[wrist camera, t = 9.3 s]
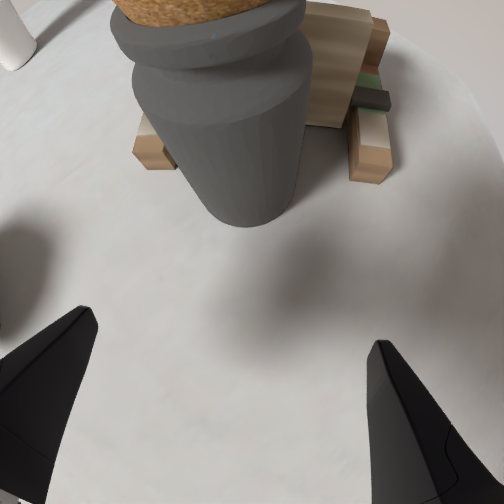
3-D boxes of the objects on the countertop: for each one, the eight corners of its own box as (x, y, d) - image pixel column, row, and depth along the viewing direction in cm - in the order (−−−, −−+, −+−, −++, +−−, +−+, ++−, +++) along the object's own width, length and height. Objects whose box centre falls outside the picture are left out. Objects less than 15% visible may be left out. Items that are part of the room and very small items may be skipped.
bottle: (184, 168, 19) (63, -35, 4) (264, 127, 19) (246, -98, 4) (226, 247, 17) (72, 35, 3) (313, 199, 18) (388, -50, 3)
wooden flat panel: (376, 133, 18) (425, 37, 9) (157, 121, 19) (103, 31, 10) (375, 119, 18) (418, 23, 9) (161, 108, 19) (112, 18, 11)
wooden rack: (379, 184, 18) (416, 135, 12) (147, 169, 19) (105, 121, 13) (367, 75, 19) (385, 20, 13) (176, 67, 20) (155, 14, 15)
